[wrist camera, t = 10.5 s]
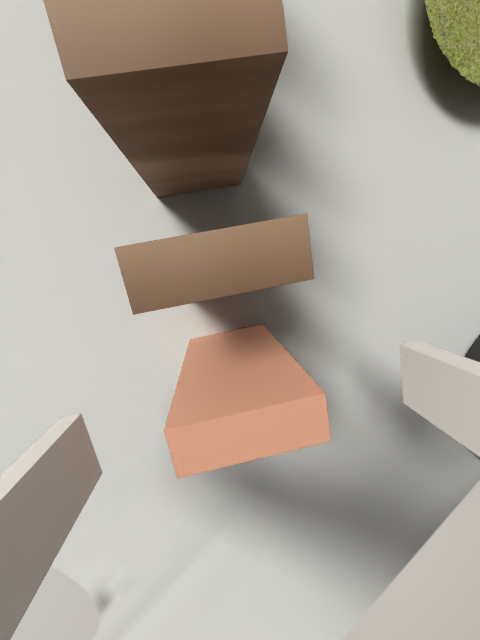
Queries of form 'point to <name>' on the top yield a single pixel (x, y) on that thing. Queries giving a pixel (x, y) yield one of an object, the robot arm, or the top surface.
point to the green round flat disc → (458, 33)
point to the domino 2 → (216, 263)
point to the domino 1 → (175, 81)
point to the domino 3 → (241, 403)
